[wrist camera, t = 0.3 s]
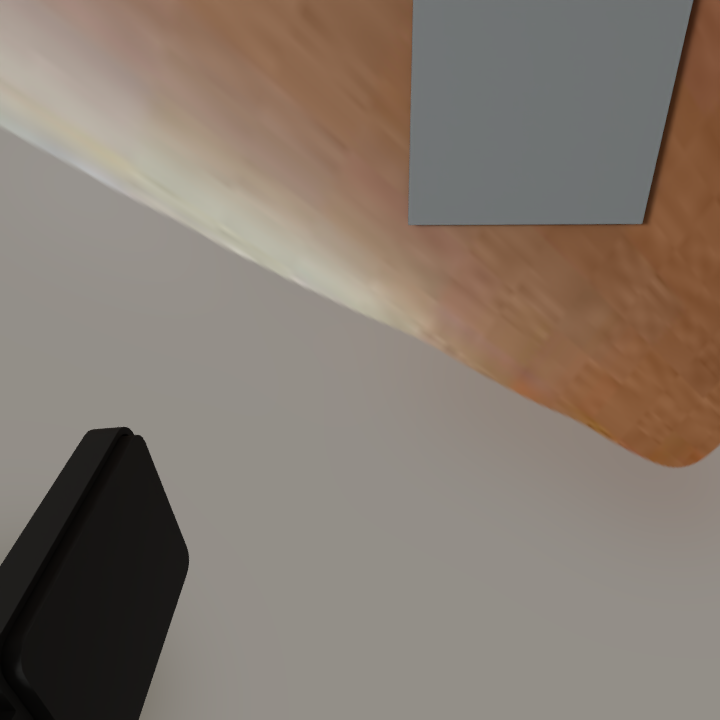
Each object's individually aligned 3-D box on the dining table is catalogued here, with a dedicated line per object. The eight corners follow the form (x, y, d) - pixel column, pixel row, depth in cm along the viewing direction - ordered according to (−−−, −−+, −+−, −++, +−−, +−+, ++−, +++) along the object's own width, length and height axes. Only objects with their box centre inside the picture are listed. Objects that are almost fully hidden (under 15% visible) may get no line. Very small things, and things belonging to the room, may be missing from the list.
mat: (415, -98, 30) (415, -100, 30) (712, -106, 30) (717, -108, 29) (408, 221, 39) (408, 224, 38) (638, 220, 38) (642, 223, 38)
